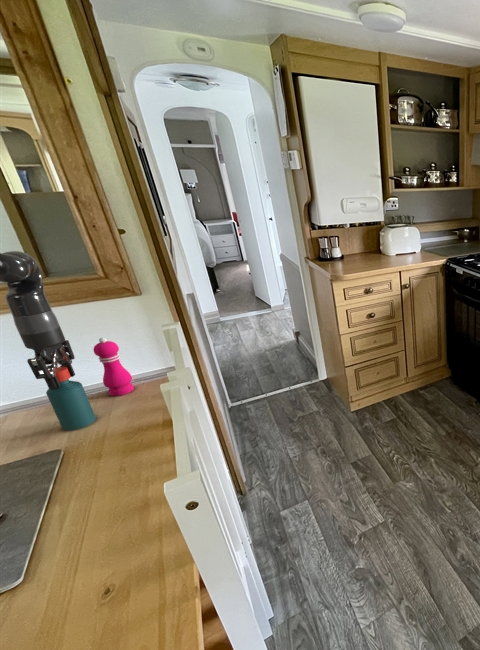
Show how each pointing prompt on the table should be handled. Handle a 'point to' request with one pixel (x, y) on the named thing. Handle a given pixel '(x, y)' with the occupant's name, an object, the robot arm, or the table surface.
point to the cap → (62, 373)
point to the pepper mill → (113, 368)
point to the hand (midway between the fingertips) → (63, 382)
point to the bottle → (71, 405)
